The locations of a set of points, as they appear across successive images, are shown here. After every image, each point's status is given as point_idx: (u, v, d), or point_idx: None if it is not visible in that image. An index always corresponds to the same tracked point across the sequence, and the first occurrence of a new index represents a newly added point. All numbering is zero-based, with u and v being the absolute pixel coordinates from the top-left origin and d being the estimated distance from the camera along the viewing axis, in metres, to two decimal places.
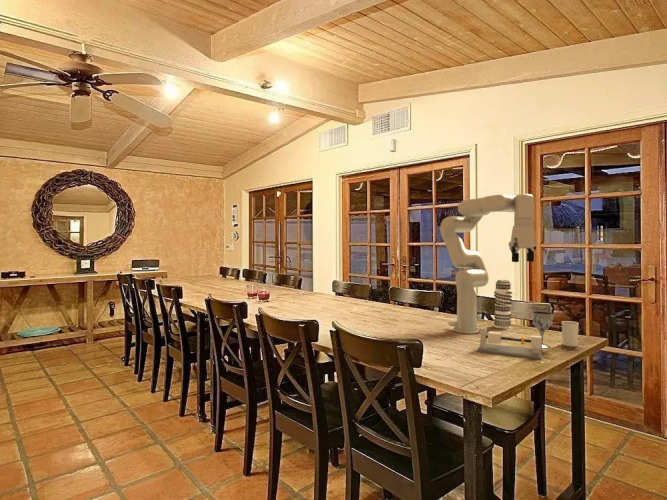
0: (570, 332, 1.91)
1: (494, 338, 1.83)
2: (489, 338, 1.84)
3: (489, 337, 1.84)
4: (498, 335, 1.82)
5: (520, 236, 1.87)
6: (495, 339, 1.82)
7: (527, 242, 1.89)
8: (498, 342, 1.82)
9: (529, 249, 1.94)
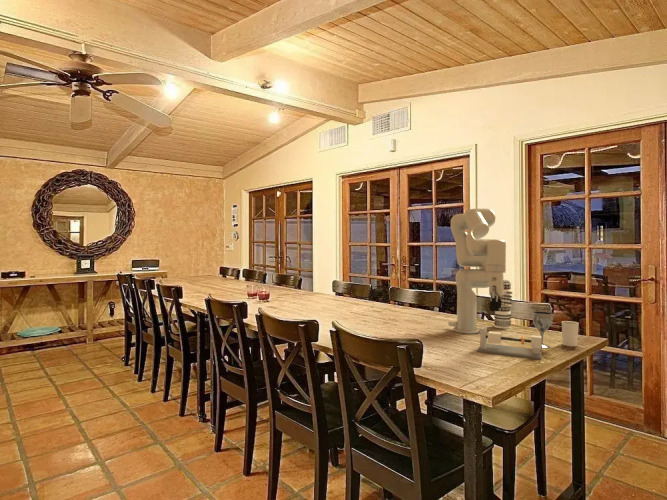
0: (570, 332, 1.91)
1: (494, 338, 1.83)
2: (489, 338, 1.84)
3: (489, 337, 1.84)
4: (498, 335, 1.82)
5: None
6: (495, 339, 1.82)
7: None
8: (498, 342, 1.82)
9: None
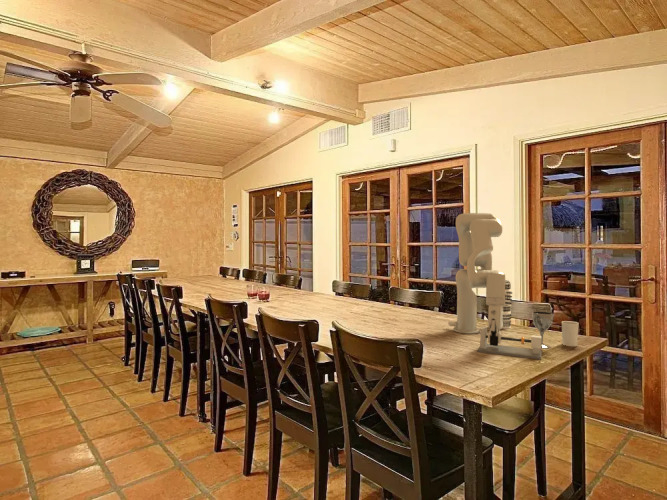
0: (570, 332, 1.91)
1: None
2: (489, 338, 1.84)
3: (489, 337, 1.84)
4: (498, 335, 1.82)
5: None
6: None
7: None
8: (498, 342, 1.82)
9: None
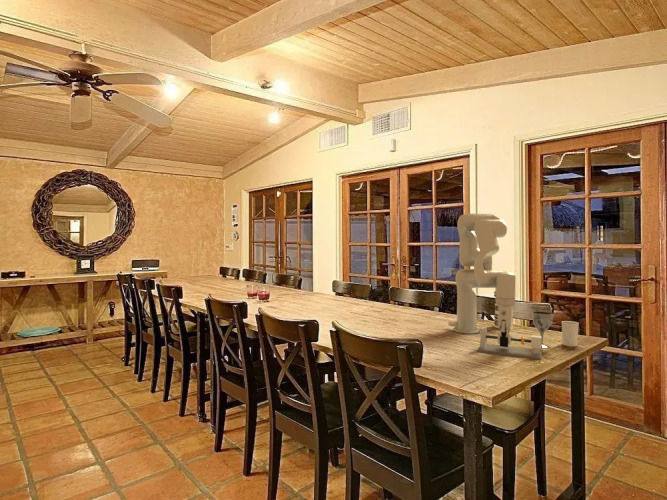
0: (570, 332, 1.91)
1: None
2: (499, 339, 1.82)
3: (499, 338, 1.82)
4: (508, 336, 1.80)
5: None
6: None
7: None
8: (508, 343, 1.80)
9: None
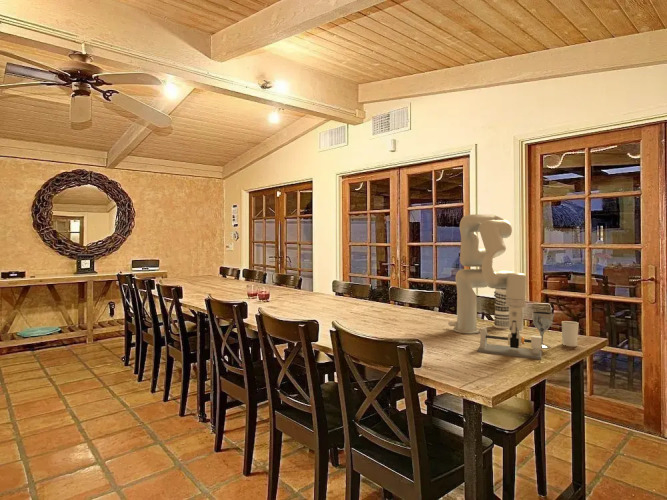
0: (570, 332, 1.91)
1: None
2: (509, 340, 1.80)
3: (509, 339, 1.80)
4: (519, 337, 1.78)
5: None
6: None
7: None
8: (519, 344, 1.78)
9: (516, 335, 1.77)
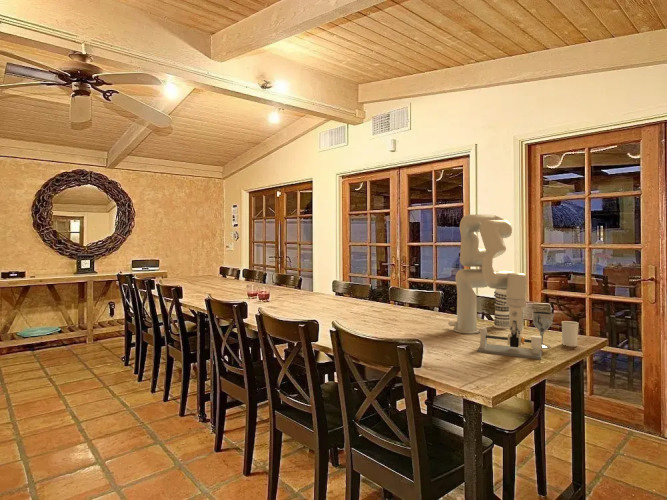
0: (570, 332, 1.91)
1: None
2: (509, 340, 1.80)
3: (509, 339, 1.80)
4: None
5: None
6: None
7: None
8: None
9: (516, 334, 1.76)
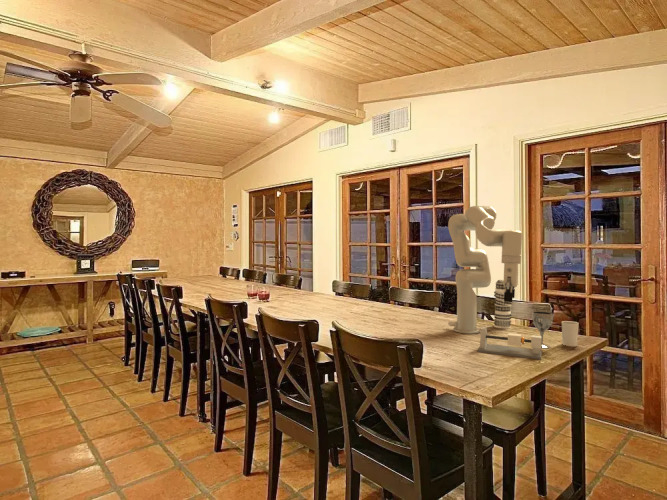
0: (570, 332, 1.91)
1: (514, 340, 1.79)
2: (509, 340, 1.80)
3: (509, 339, 1.80)
4: (518, 337, 1.78)
5: None
6: (515, 341, 1.79)
7: None
8: (518, 344, 1.78)
9: (510, 289, 1.80)
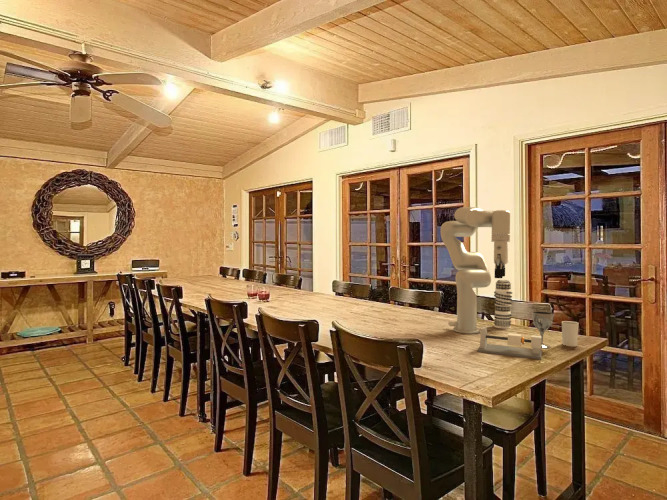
0: (570, 332, 1.91)
1: (514, 340, 1.79)
2: (509, 340, 1.80)
3: (509, 339, 1.80)
4: (518, 337, 1.78)
5: None
6: (515, 341, 1.79)
7: None
8: (518, 344, 1.78)
9: (500, 266, 1.87)
